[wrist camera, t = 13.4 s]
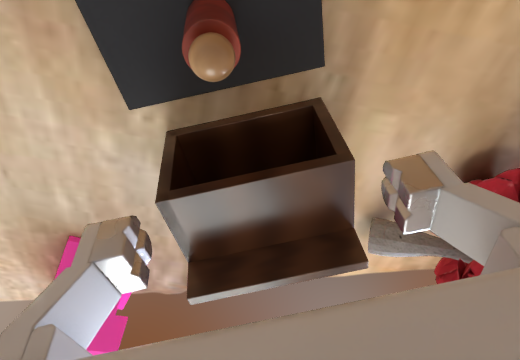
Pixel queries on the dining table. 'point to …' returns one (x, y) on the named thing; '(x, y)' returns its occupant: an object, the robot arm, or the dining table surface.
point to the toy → (211, 39)
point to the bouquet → (421, 244)
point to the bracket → (113, 325)
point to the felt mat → (171, 36)
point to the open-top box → (260, 200)
